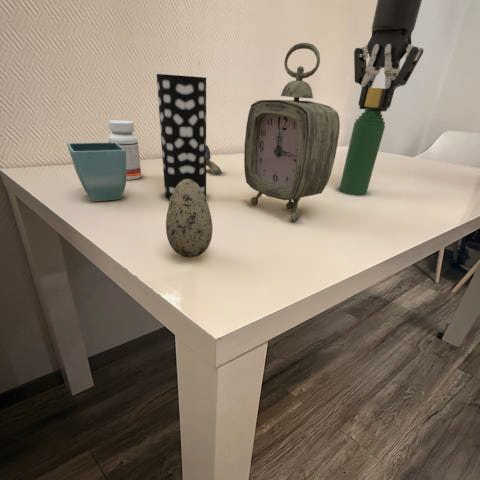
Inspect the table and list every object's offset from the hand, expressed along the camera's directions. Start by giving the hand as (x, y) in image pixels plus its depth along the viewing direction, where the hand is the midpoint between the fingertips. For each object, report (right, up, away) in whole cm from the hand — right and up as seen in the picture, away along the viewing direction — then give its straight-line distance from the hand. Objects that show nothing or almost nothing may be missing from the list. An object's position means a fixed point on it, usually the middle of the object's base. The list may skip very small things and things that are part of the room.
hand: (372, 109), depth 69 cm
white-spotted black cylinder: (-39, -19, -1) cm, 43 cm away
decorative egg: (-35, -36, -24) cm, 55 cm away
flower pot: (-54, -21, -5) cm, 58 cm away
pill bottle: (-54, -11, +9) cm, 56 cm away
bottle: (-1, -13, +10) cm, 17 cm away
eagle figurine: (-37, -5, +18) cm, 42 cm away
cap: (0, +1, 0) cm, 1 cm away
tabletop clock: (-20, -23, -5) cm, 31 cm away
